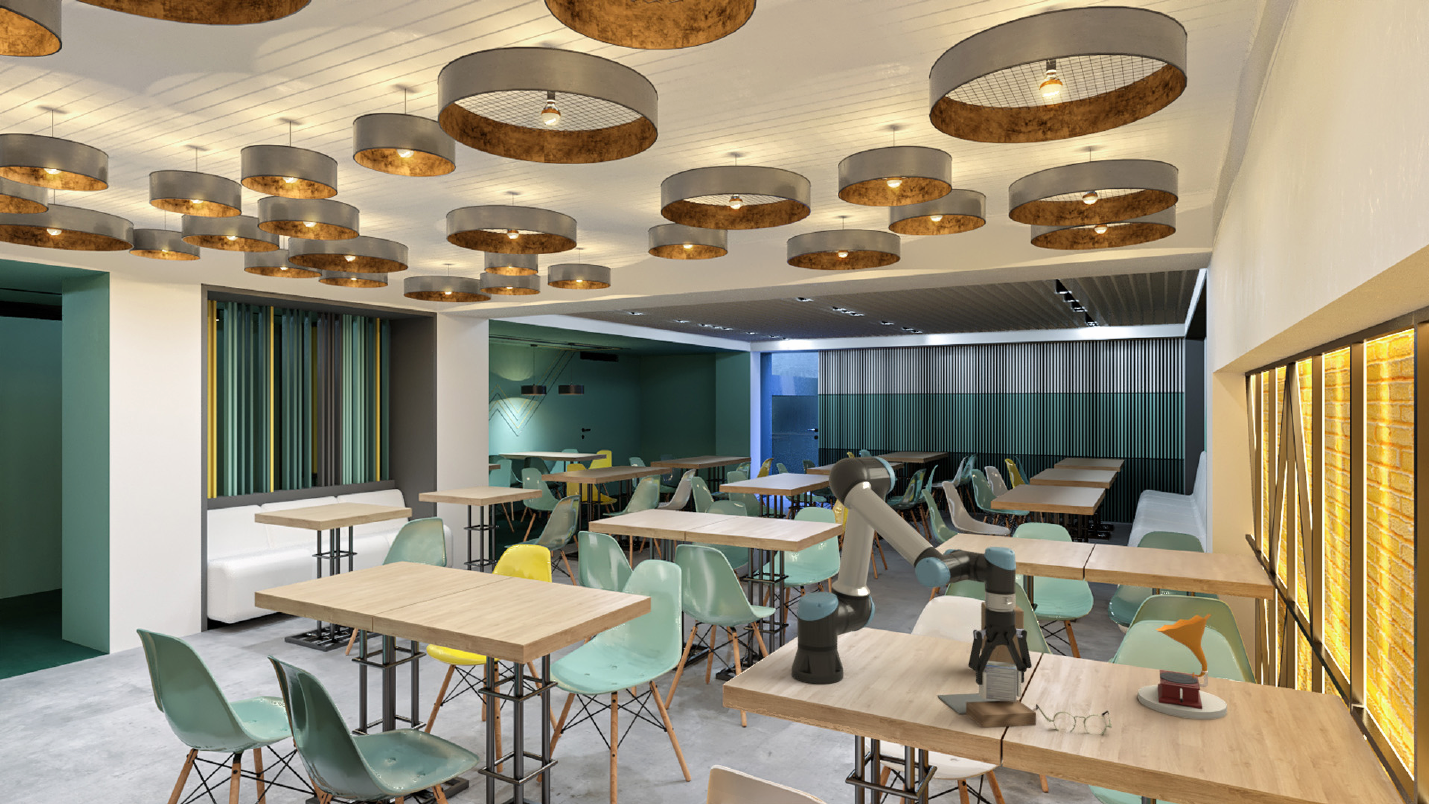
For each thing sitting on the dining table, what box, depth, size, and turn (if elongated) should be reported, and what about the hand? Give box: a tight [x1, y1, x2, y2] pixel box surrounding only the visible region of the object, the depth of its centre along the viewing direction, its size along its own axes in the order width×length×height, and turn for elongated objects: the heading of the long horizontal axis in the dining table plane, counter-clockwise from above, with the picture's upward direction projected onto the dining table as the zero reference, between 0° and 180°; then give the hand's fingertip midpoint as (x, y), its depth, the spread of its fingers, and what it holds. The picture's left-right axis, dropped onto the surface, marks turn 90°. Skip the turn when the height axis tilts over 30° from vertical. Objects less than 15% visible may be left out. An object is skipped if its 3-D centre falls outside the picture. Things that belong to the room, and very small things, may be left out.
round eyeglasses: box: [1035, 703, 1113, 736], centre depth 202 cm, size 17×15×5 cm
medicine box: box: [984, 661, 1018, 702], centre depth 207 cm, size 8×4×9 cm, turn 71°
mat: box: [937, 692, 1003, 715], centre depth 214 cm, size 17×13×1 cm
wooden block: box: [980, 601, 1025, 669], centre depth 239 cm, size 10×10×20 cm
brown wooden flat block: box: [965, 699, 1037, 728], centre depth 203 cm, size 14×9×3 cm, turn 98°
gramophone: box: [1137, 613, 1228, 720], centre depth 214 cm, size 20×20×25 cm
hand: (999, 696), depth 207 cm, fingers closed on medicine box, 9 cm apart
